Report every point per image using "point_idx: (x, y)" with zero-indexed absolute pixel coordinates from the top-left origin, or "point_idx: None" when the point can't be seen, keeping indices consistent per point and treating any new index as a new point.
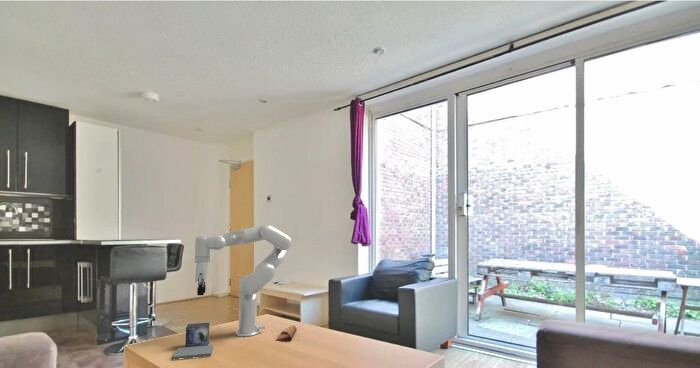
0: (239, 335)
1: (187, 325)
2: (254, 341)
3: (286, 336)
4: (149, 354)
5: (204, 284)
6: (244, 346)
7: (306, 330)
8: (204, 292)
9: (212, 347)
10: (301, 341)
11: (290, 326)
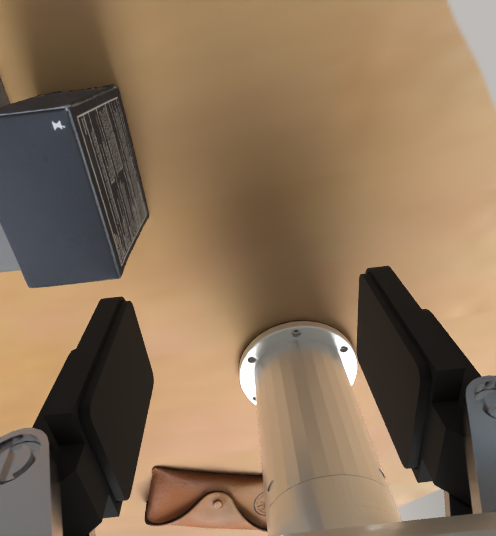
0: (250, 345)
1: (20, 115)
2: (162, 405)
3: (151, 511)
4: None
5: (446, 479)
6: None
7: None
8: (357, 350)
9: (13, 269)
10: (146, 526)
11: (252, 527)
